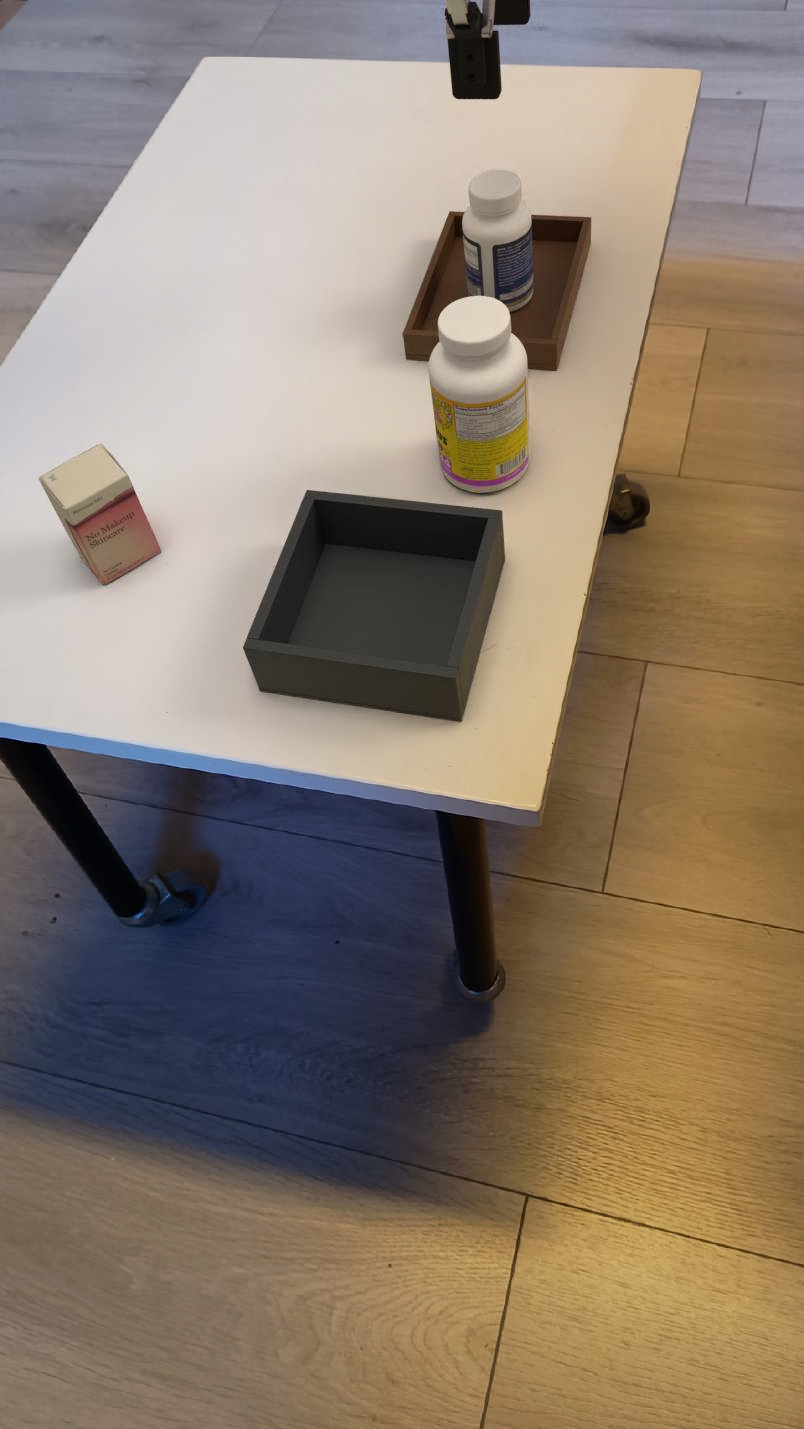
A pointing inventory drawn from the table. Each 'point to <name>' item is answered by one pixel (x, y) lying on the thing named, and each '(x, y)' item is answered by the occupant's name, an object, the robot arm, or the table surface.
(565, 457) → the table surface
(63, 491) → the small box
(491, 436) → the supplement bottle
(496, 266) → the pill bottle
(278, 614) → the dark grey open box
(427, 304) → the tray
